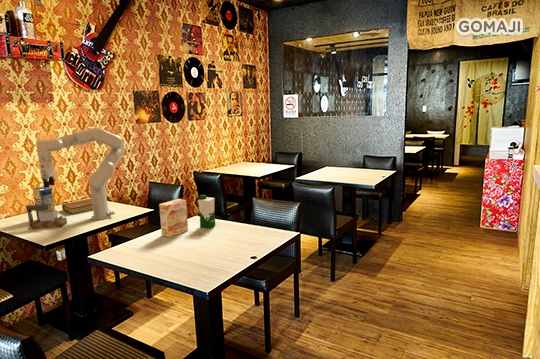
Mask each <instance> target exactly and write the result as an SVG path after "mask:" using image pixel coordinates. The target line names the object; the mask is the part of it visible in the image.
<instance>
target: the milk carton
mask: <svg viewBox="0 0 540 359" xmlns="http://www.w3.org/2000/svg"><path fill="white" fill-rule="evenodd" d="M215 200H216V199H215V197H208V196H207V195H206V194H200V195H199V199H198V200H197V202H198V209H199V210H198V211H199V226H200V229H212V228H213V227H215V226H216V215H215V214H216V213H215V211H216V210H215Z"/></svg>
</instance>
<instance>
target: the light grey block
mask: <svg viewBox="0 0 540 359" xmlns="http://www.w3.org/2000/svg"><path fill="white" fill-rule="evenodd" d="M57 218H59V216H58V210H56V209H55V210H42V211H41V212H39V219H40V222H48V221H55V220H56V219H57Z"/></svg>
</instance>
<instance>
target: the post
mask: <svg viewBox="0 0 540 359" xmlns="http://www.w3.org/2000/svg"><path fill="white" fill-rule="evenodd" d="M26 212H27V217H28V224H29V226H28V228H29V229H32V227H31V223H32V222H34V218H33V217H34V215H33V210H31V211H26Z"/></svg>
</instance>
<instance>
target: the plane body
mask: <svg viewBox="0 0 540 359" xmlns="http://www.w3.org/2000/svg"><path fill="white" fill-rule="evenodd" d="M66 225H68V219H67V217H63V215H61V216H58V218H57V219H56V220H55V221H48V222H40V219H37V218H36V220H33V222H32V223H31V227H32V228H31V230H42V229H59V228H60V229H61V228H63V227H65V226H66Z"/></svg>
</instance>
